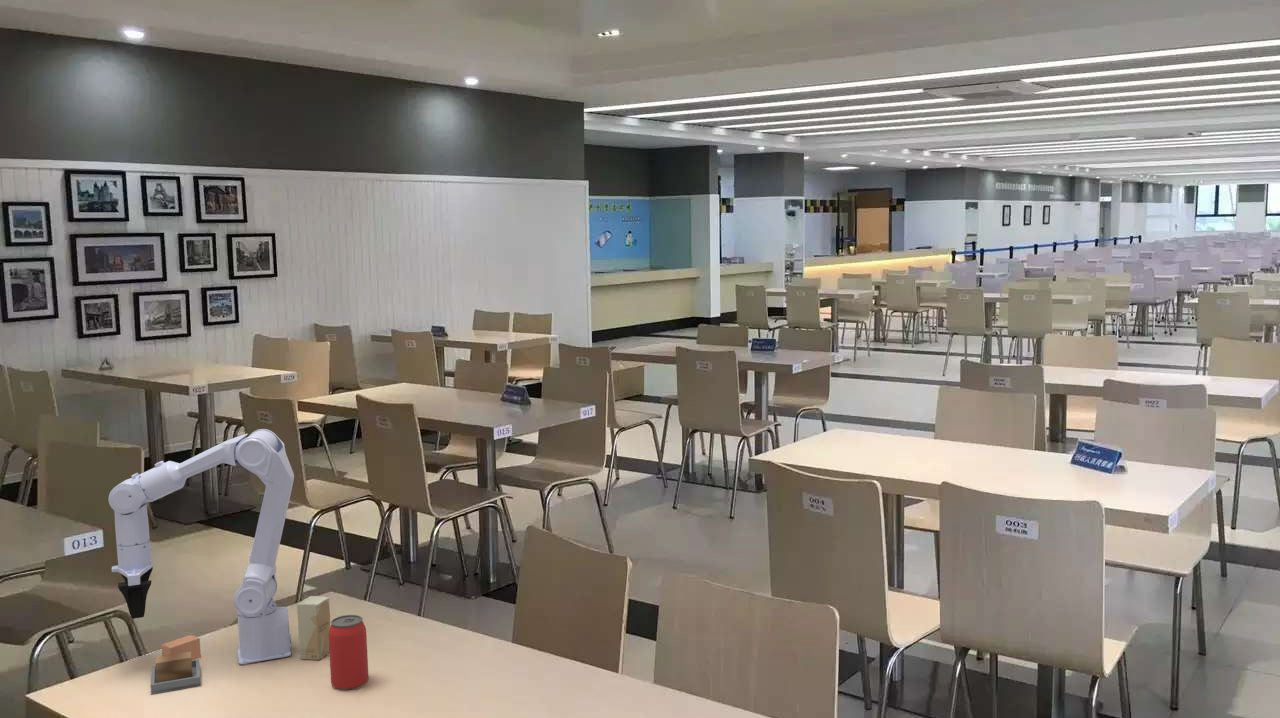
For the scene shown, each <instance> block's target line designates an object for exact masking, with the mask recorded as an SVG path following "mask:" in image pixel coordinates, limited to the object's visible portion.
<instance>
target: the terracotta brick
mask: <svg viewBox="0 0 1280 718" xmlns="http://www.w3.org/2000/svg"><path fill="white" fill-rule="evenodd" d="M200 639H201V638H200V637H197V636H195V635H192V634H189V635H186V636H183V637H179V638H177V639H174V640H170V641H168V642H165V643H161V644H160V645H161V656H166V655H172V654H178V653H185V652H191V659H192V660H196V659H200V658H202V653H201V651H202V650H201V640H200Z"/></svg>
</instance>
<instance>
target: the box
mask: <svg viewBox="0 0 1280 718" xmlns="http://www.w3.org/2000/svg"><path fill="white" fill-rule="evenodd" d="M296 605H297V621H298V622H297V628H298V629H297V630H298V644H299V645H298V647H299V659H301V660H315V661H320V660H321V659H322V658H324V657H325V656H327V655H328V654H330V653H329V635H328V634H329V630H330V627H331V613H330V597H329V596H318V595H310V596H308V597H306V598H305V599H303V600H301V601H300V602H299V603H297V604H296Z"/></svg>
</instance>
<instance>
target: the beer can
mask: <svg viewBox="0 0 1280 718" xmlns="http://www.w3.org/2000/svg"><path fill="white" fill-rule="evenodd" d="M363 620H364V619H363V617H362V616H361V615H357V614H345V615H339V616H337V617H334V618H333V619H332V620H330V630H329V634H328V635H329V653H328V654H329V666H330V667H329V669H330V671H329V672H330V683H331V685H332V687H333V688H335V689H337V690H340V691H341V690H343V691H350V690H355V689H358V688H361V687H362V686H364V685H366V684H367V682H368V681H369V676H370V675H369V659H368V658H369V656H368V639H367V629H366V625H365V622H364V621H363Z"/></svg>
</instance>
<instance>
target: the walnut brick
mask: <svg viewBox="0 0 1280 718" xmlns="http://www.w3.org/2000/svg"><path fill="white" fill-rule="evenodd" d="M154 665H155V667H156V680H157V683H160V682H166V681H172V680H178V679H183V678H189V677H193V676H192V659H191V652H185V653H178V654H172V655H166V656H162V655H161V656H155V663H154Z"/></svg>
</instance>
